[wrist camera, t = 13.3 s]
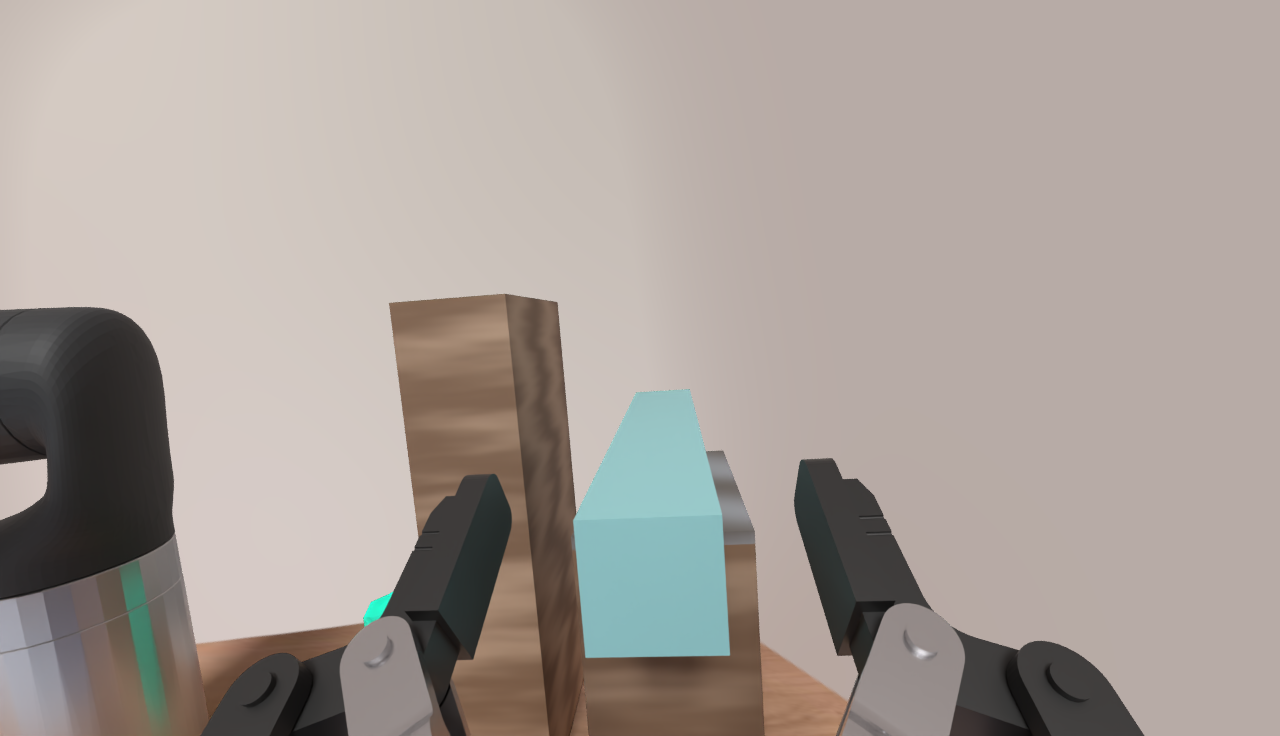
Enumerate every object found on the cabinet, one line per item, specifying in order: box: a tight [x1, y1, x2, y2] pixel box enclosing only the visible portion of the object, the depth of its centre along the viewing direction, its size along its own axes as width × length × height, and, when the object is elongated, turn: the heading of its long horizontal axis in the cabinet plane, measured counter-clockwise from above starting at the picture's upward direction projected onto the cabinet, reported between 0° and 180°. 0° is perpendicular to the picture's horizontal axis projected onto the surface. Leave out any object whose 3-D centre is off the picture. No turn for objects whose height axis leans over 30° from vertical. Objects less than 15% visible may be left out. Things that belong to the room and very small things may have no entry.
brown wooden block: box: [571, 451, 764, 736], centre depth 27 cm, size 12×8×21 cm, turn 176°
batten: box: [573, 389, 730, 658], centre depth 23 cm, size 22×4×4 cm, turn 176°
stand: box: [389, 294, 584, 736], centre depth 34 cm, size 12×7×32 cm, turn 176°
